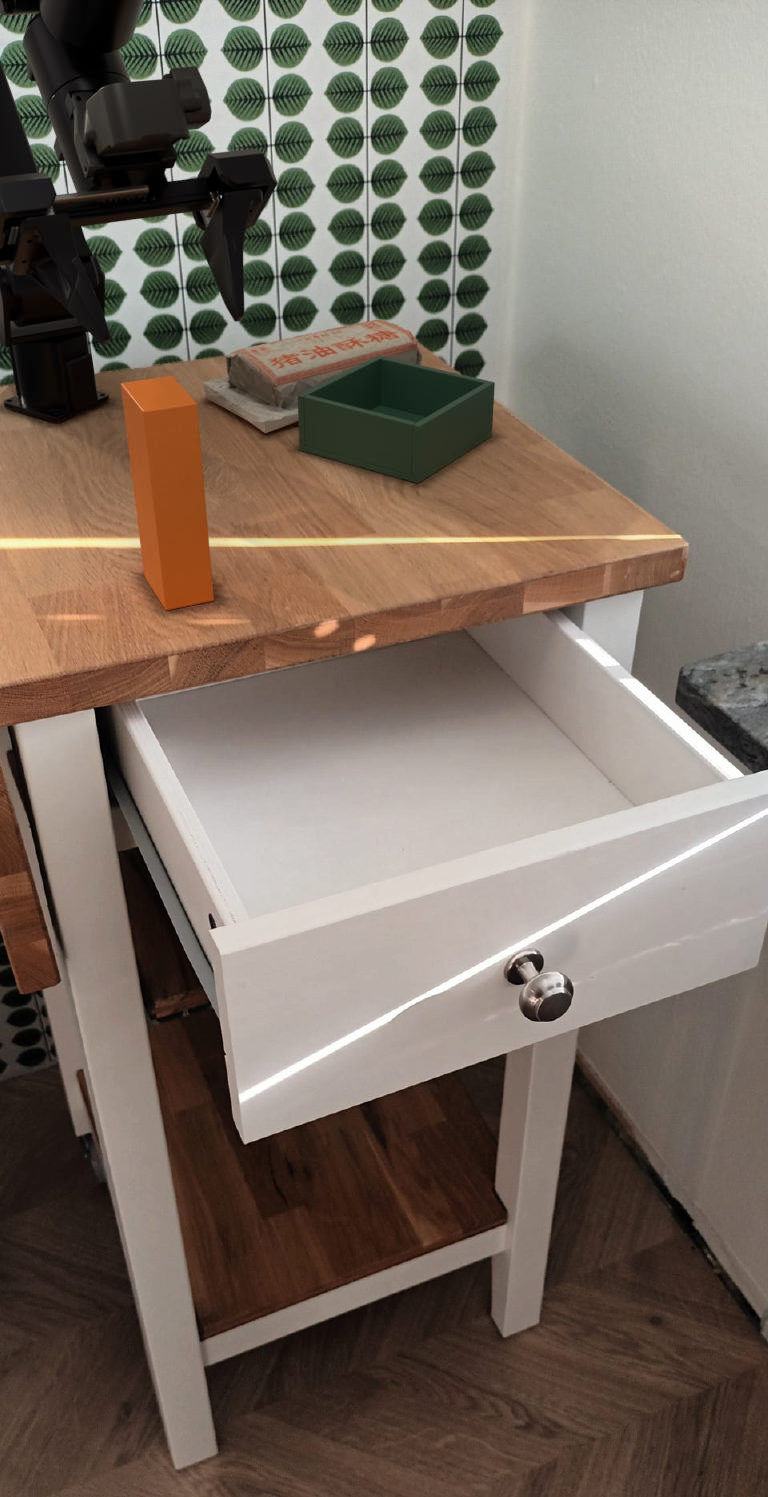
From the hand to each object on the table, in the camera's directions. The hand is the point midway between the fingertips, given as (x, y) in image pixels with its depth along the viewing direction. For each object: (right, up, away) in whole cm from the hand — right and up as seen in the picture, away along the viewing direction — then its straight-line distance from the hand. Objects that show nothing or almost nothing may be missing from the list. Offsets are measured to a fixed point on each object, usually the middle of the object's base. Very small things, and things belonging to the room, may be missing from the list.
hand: (174, 330), depth 79 cm
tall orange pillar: (0, -16, +1) cm, 16 cm away
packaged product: (+8, +4, +29) cm, 31 cm away
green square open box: (+14, -2, +21) cm, 25 cm away
